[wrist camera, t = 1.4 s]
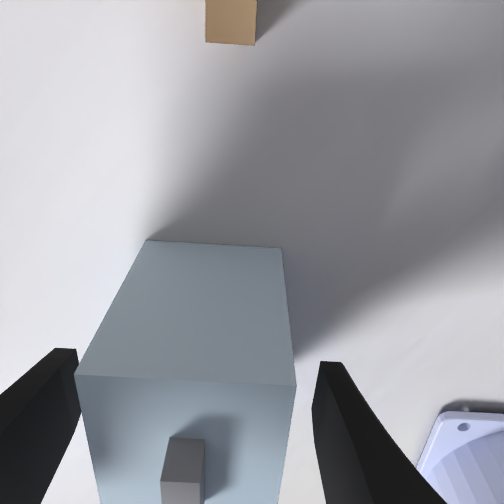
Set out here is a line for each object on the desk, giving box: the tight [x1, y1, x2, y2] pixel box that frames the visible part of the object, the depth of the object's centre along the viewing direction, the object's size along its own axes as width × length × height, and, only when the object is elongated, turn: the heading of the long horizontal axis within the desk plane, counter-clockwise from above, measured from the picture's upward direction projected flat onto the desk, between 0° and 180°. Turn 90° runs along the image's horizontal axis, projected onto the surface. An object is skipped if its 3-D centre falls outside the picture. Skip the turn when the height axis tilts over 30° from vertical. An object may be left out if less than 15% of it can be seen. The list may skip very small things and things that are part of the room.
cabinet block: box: [74, 240, 297, 504], centre depth 12 cm, size 4×6×7 cm
